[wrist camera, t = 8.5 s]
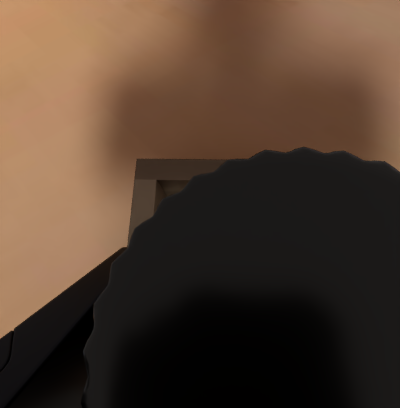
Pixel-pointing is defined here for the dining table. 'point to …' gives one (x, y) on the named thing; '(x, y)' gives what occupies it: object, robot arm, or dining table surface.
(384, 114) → the dining table surface
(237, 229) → the supplement bottle
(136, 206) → the walnut well
